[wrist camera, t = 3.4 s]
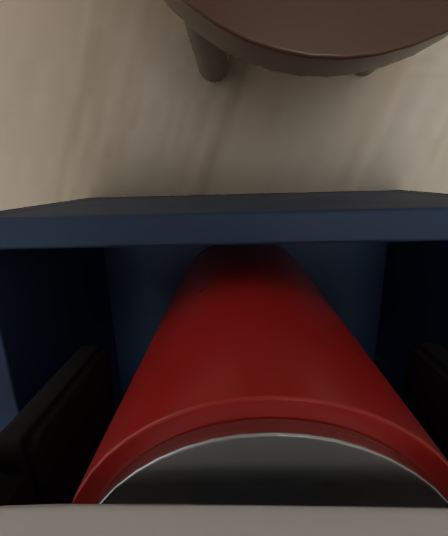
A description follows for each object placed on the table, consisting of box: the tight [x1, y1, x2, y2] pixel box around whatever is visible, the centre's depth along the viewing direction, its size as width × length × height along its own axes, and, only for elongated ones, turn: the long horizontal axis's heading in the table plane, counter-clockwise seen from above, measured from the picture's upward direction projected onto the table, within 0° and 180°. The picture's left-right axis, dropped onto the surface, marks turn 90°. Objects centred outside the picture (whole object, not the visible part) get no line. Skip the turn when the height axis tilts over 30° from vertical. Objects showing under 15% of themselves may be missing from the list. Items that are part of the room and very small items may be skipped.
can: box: [71, 244, 448, 508], centre depth 11 cm, size 6×6×12 cm
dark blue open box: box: [0, 190, 448, 432], centre depth 13 cm, size 13×15×8 cm
